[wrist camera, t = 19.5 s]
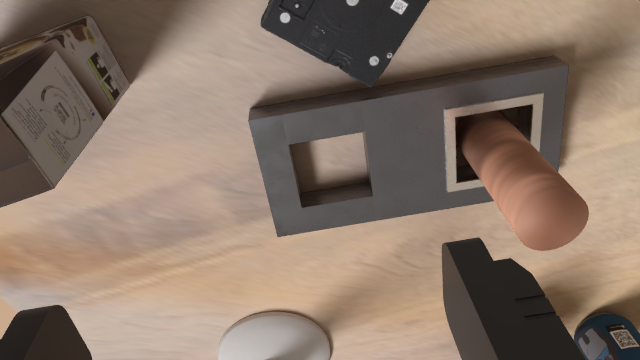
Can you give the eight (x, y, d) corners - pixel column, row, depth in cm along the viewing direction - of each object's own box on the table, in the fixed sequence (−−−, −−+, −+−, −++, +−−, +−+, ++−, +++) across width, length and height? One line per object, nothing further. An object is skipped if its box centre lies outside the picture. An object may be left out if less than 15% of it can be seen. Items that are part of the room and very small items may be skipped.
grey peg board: (277, 221, 50) (277, 238, 48) (249, 108, 44) (248, 121, 41) (544, 176, 49) (557, 191, 47) (554, 55, 43) (569, 66, 41)
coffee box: (89, 10, 39) (-16, 86, 25) (132, 86, 42) (60, 191, 28) (-16, 51, 40) (-173, 145, 26) (34, 122, 43) (-82, 239, 29)
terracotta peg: (455, 159, 48) (515, 255, 36) (454, 111, 45) (519, 198, 33) (506, 150, 48) (584, 244, 36) (508, 102, 45) (592, 186, 33)
